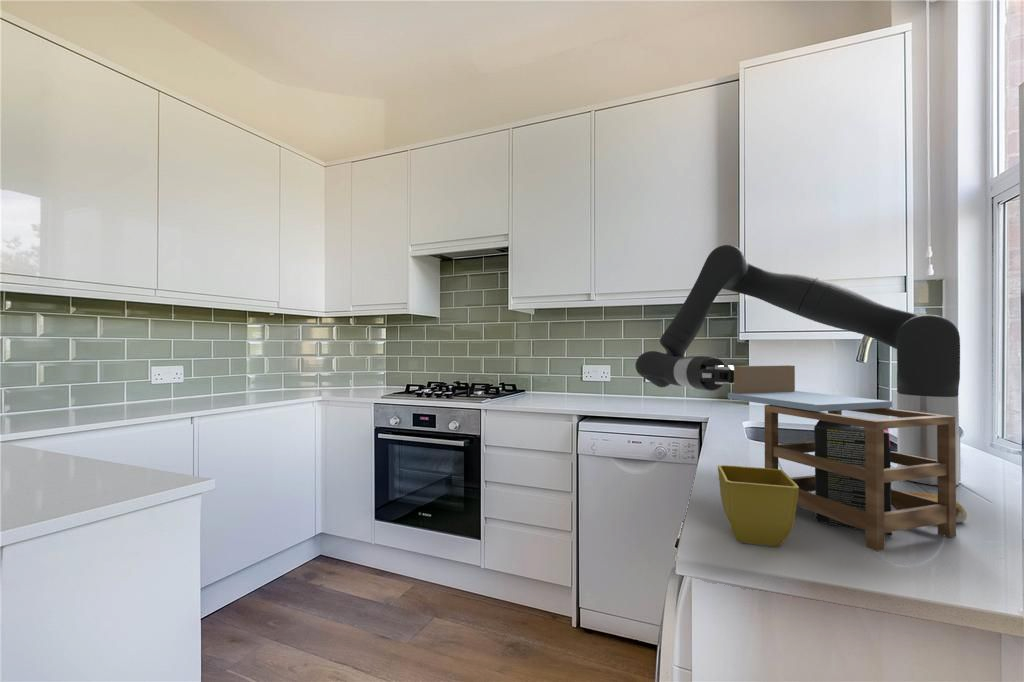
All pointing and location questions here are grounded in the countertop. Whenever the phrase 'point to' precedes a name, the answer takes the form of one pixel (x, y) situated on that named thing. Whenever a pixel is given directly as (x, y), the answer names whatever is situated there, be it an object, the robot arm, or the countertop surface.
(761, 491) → the flower pot
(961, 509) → the pastry
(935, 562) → the countertop surface
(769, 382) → the lid
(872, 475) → the crate
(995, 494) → the countertop surface
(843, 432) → the tampon box
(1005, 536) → the countertop surface
